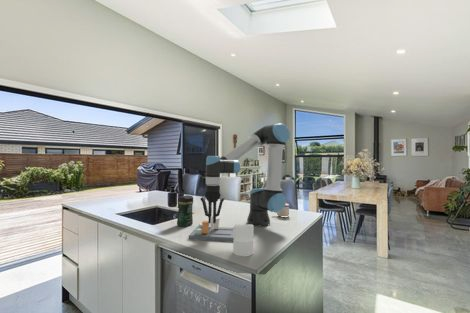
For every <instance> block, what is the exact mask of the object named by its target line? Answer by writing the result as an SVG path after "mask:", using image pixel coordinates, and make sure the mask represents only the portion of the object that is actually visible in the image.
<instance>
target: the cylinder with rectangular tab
mask: <svg viewBox="0 0 470 313" xmlns="http://www.w3.org/2000/svg"><path fill="white" fill-rule="evenodd" d="M233 228H234V236H233V242H232V243H233V244H232V246H233V247H232V248H233V249H232V252H233V254H234V255H236V256H238V257H248V256H251V255H253V254H254V231H255V230H254V225H252V224H248V223H247V224H233Z"/></svg>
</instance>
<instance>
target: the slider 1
mask: <svg viewBox="0 0 470 313" xmlns="http://www.w3.org/2000/svg"><path fill="white" fill-rule="evenodd" d="M202 221H203V222H202ZM202 221H201V222H202V233H205V234H208V232H209V227H210V225H209V220H202Z"/></svg>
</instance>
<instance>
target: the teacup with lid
mask: <svg viewBox="0 0 470 313" xmlns="http://www.w3.org/2000/svg"><path fill="white" fill-rule="evenodd" d="M274 213H276V214H277V215H278V216H288V215H289V216H290V204H289V203H287V202H286V204H285V206H284V208H283V209H282V210H281V211H279V212H274ZM278 216H277V217H278Z"/></svg>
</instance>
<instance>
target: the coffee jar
mask: <svg viewBox="0 0 470 313" xmlns="http://www.w3.org/2000/svg"><path fill="white" fill-rule="evenodd" d="M193 196H194V195H187V194H186V195H182V196H179V197H178V199H177V204H178V211H177V218H176V219H177V220H176V225H177V226H178V227H181V228H182V227H189V226H192V225H193V222H194V221H193V220H194V219H193V204H194V197H193Z"/></svg>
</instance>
